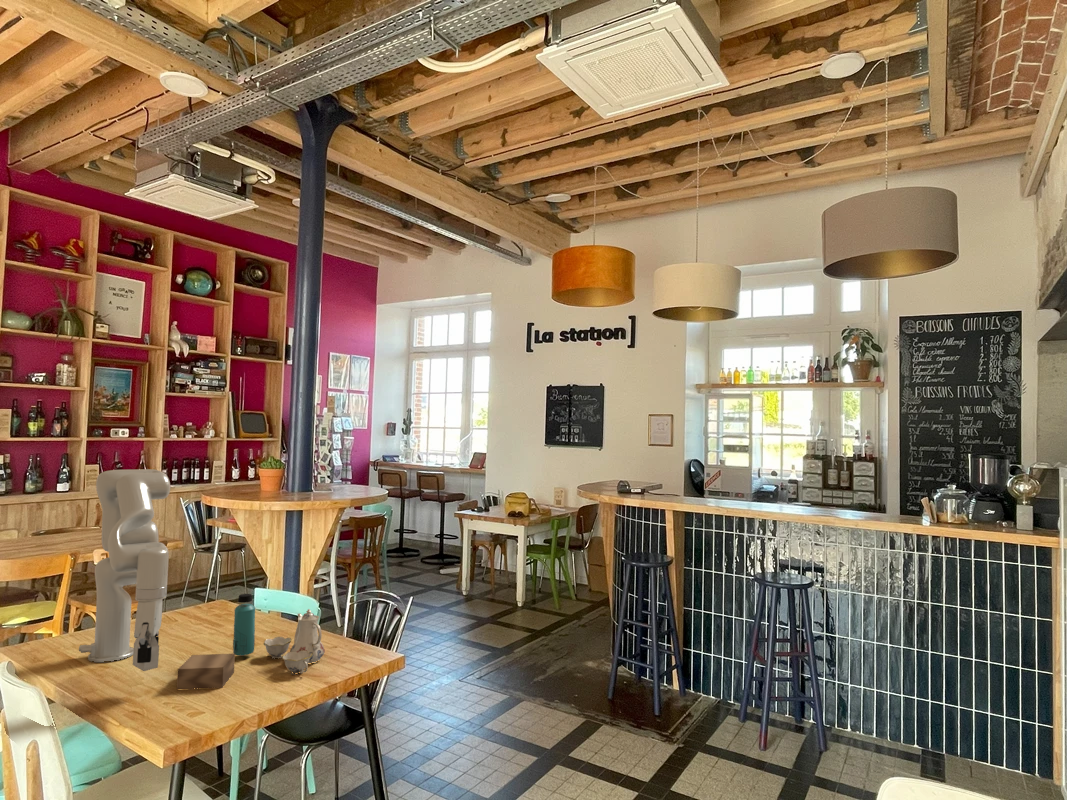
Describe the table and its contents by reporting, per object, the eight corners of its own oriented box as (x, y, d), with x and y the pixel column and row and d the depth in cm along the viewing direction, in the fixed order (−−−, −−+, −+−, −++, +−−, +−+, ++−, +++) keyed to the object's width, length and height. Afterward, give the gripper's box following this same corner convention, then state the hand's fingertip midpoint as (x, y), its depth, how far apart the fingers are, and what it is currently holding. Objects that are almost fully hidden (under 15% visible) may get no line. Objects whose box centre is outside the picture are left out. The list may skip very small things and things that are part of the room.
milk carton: (143, 671, 179) (145, 634, 179) (132, 664, 183) (134, 628, 183) (157, 667, 182) (160, 631, 182) (146, 661, 186) (148, 625, 186)
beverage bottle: (258, 655, 214) (261, 593, 215) (243, 661, 208) (246, 597, 209) (242, 652, 217) (245, 591, 218) (227, 659, 210) (229, 595, 211)
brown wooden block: (176, 691, 185) (177, 669, 185) (191, 675, 197) (192, 655, 197) (222, 688, 187) (223, 667, 187) (233, 673, 199) (234, 653, 199)
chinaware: (254, 662, 213) (251, 611, 213) (303, 645, 225) (300, 597, 224) (293, 686, 193) (290, 630, 193) (345, 666, 205) (341, 613, 205)
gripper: (143, 585, 191) (140, 646, 190) (127, 602, 174) (123, 669, 174) (172, 584, 193) (169, 645, 192) (159, 601, 176) (155, 667, 176)
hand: (147, 656), depth 183 cm, fingers closed on milk carton, 7 cm apart
